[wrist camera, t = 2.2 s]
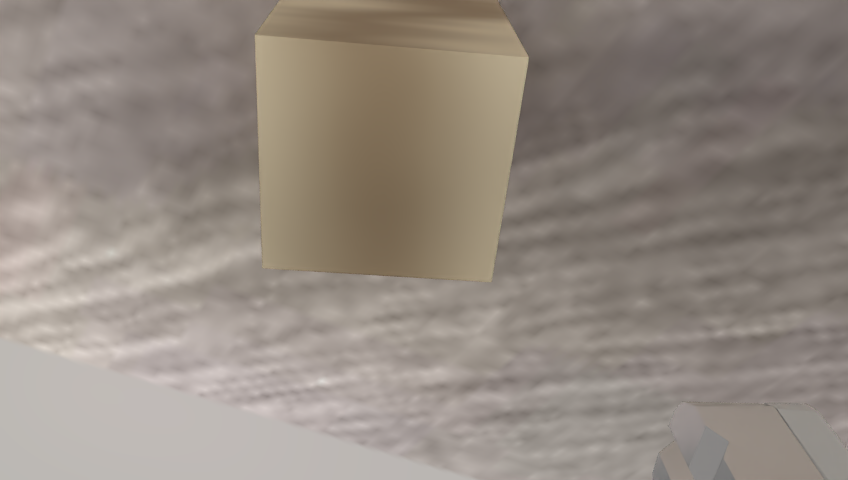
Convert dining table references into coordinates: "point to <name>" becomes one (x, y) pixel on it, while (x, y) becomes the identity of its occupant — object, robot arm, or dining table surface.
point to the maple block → (386, 135)
